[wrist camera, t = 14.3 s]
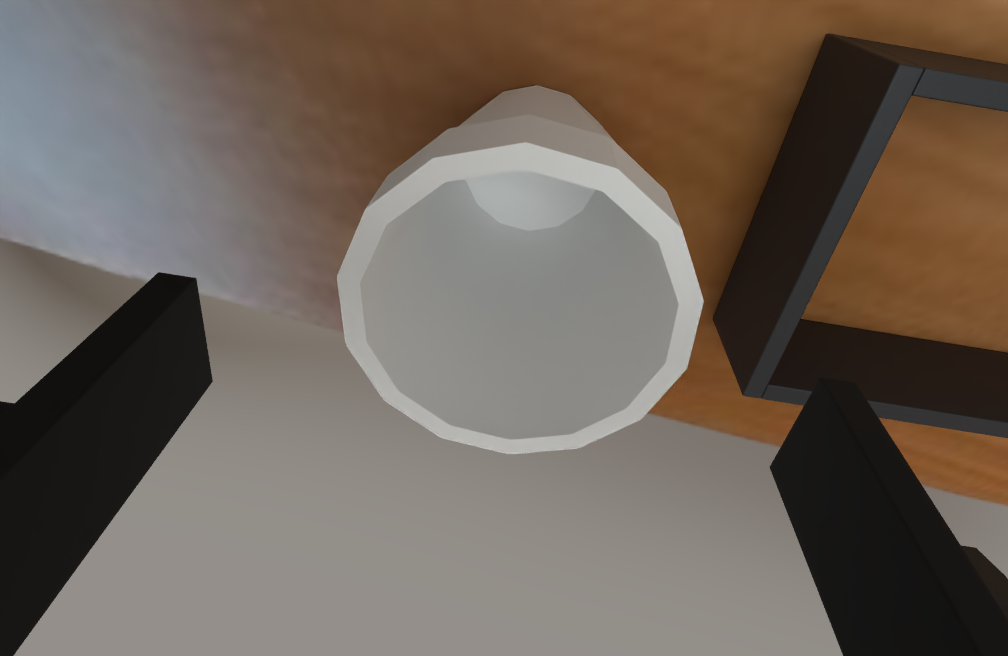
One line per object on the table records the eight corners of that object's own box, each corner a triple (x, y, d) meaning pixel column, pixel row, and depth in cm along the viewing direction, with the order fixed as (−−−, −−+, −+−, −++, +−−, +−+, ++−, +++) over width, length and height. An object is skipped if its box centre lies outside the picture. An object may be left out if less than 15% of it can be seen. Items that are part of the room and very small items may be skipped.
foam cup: (408, 226, 29) (320, 408, 18) (448, 15, 24) (359, 93, 13) (599, 278, 30) (624, 482, 19) (678, 85, 25) (772, 213, 14)
